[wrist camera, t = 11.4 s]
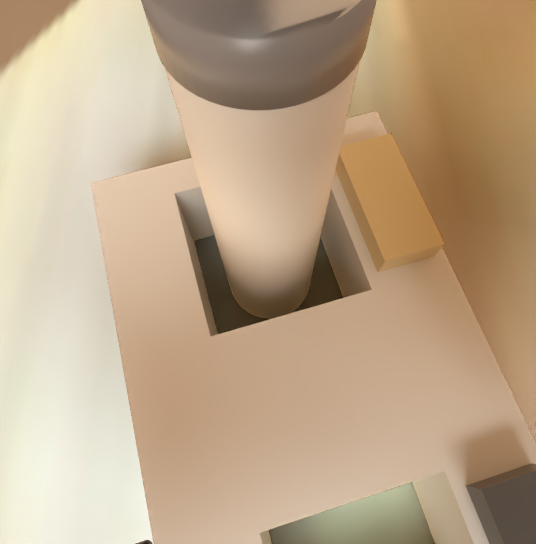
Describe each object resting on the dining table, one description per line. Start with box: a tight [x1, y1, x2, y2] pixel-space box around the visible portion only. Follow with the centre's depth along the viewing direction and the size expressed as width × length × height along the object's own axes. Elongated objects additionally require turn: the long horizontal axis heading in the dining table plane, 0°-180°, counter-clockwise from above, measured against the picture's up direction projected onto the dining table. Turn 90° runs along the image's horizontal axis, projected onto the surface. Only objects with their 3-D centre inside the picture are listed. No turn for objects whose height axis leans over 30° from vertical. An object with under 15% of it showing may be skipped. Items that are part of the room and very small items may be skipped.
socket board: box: [91, 111, 536, 544], centre depth 14 cm, size 19×11×5 cm, turn 16°
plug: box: [141, 0, 376, 318], centre depth 12 cm, size 4×4×14 cm
